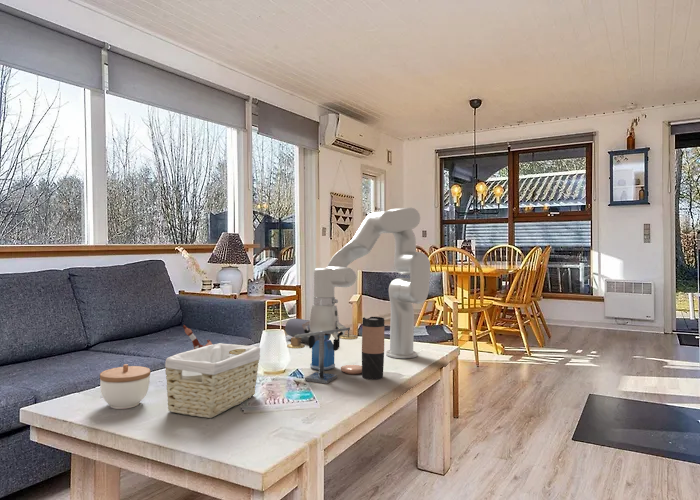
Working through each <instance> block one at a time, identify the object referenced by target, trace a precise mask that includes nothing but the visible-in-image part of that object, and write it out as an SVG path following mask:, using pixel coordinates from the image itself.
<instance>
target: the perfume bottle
mask: <svg viewBox="0 0 700 500" xmlns="http://www.w3.org/2000/svg"><path fill="white" fill-rule="evenodd" d="M327 338H328V334H325V336H324V367H329V366H330V365H332V364H335V351H334V350H333V342H332V341H333V340H331V339H329V340H327ZM311 363H312V365H313V366H319V340H318V341H316V342H315V344H314V346H313V347H312V348H311Z"/></svg>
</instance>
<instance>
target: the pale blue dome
mask: <svg viewBox="0 0 700 500" xmlns="http://www.w3.org/2000/svg"><path fill="white" fill-rule="evenodd" d="M309 366H310V368H312V369H313V370H316V371H319V366H313V365H312V362H311V363H310V365H309ZM335 367H336V363H334V364H332V365H330V366H329V367H324V371H329V370H332V369H333V368H335Z"/></svg>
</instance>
